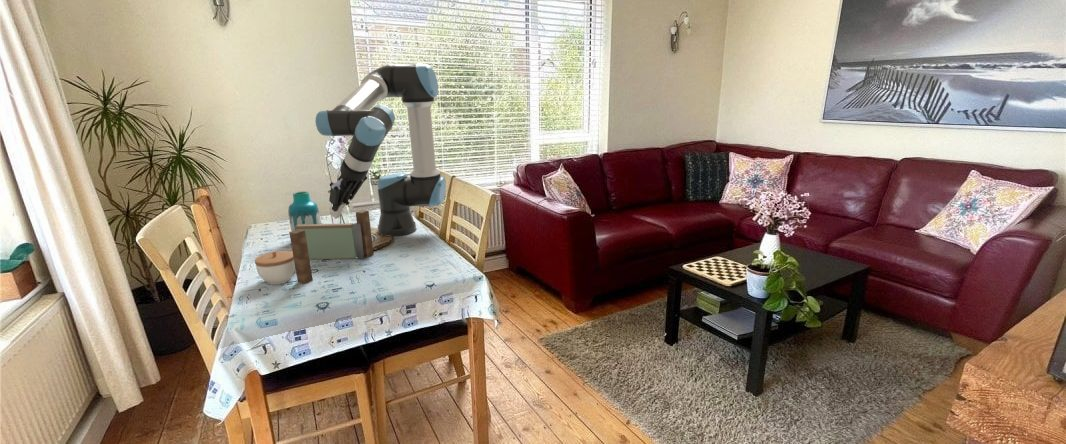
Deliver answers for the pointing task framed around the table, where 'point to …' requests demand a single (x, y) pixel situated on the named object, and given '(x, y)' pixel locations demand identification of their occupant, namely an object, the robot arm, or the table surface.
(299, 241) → the gate posts
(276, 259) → the lidded jar
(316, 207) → the vase
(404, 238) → the table surface
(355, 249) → the gate
